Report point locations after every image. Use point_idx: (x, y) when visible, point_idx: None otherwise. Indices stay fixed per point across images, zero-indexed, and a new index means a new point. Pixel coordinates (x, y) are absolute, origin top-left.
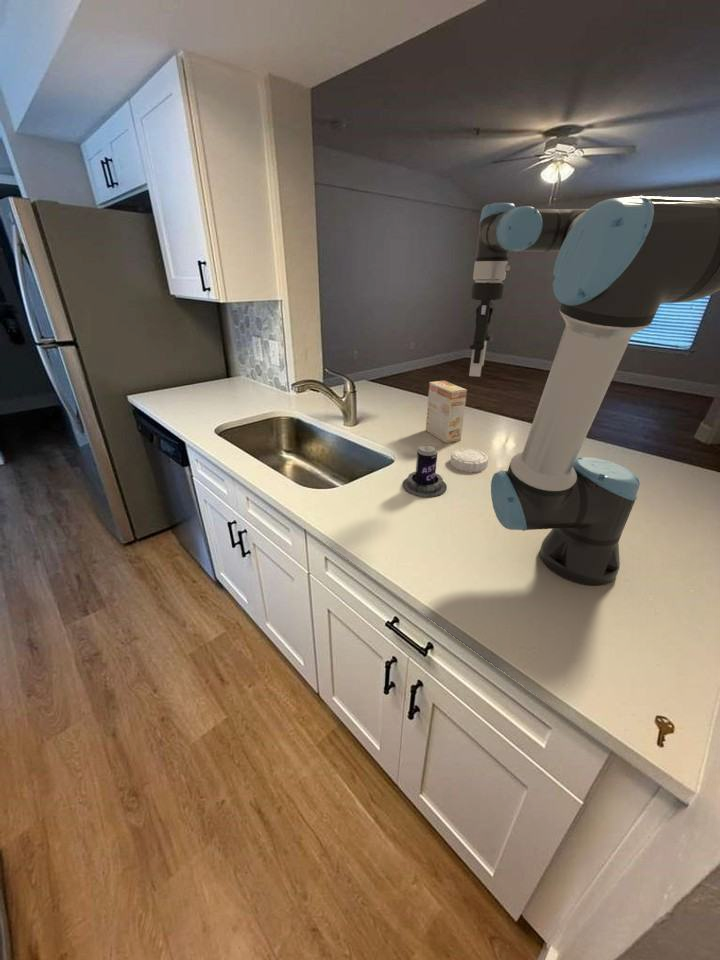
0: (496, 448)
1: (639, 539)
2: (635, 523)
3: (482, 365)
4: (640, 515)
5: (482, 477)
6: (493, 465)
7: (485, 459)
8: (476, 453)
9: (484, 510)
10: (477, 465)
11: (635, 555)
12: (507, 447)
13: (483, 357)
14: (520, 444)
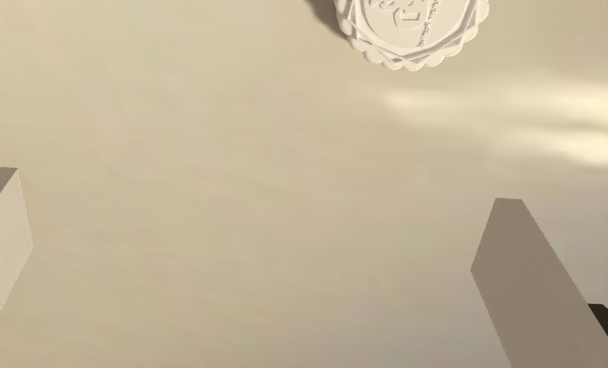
0: (565, 99)
1: (80, 339)
2: (146, 346)
3: (474, 265)
4: (186, 360)
5: (292, 38)
6: (403, 80)
7: (385, 60)
8: (435, 26)
9: (50, 37)
10: (339, 26)
11: (11, 321)
12: (573, 137)
13: (495, 319)
14: (599, 180)
